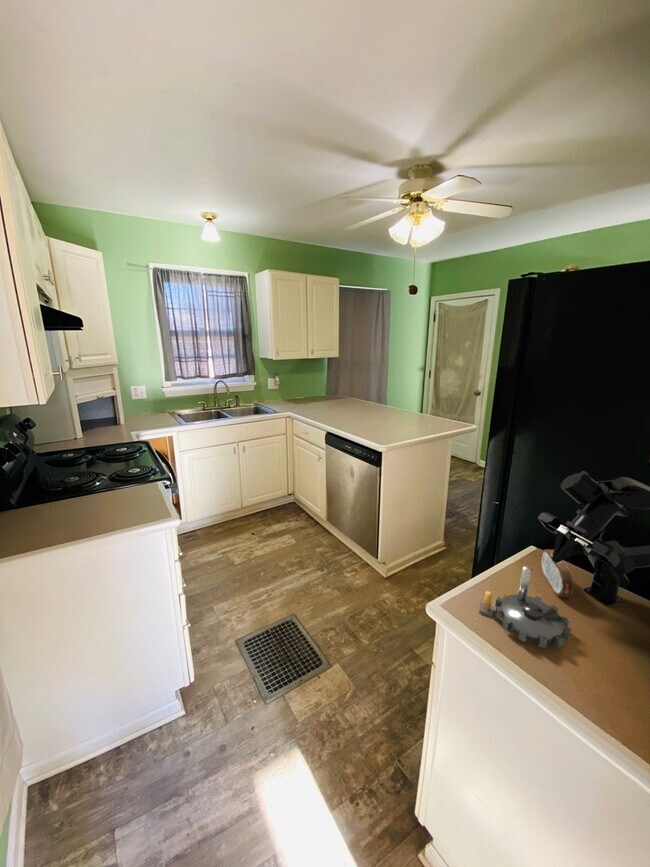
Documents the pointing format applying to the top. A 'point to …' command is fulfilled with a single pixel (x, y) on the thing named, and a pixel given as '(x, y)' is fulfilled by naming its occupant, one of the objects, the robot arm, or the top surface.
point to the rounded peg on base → (487, 605)
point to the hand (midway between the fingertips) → (553, 561)
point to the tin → (557, 574)
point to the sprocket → (531, 616)
